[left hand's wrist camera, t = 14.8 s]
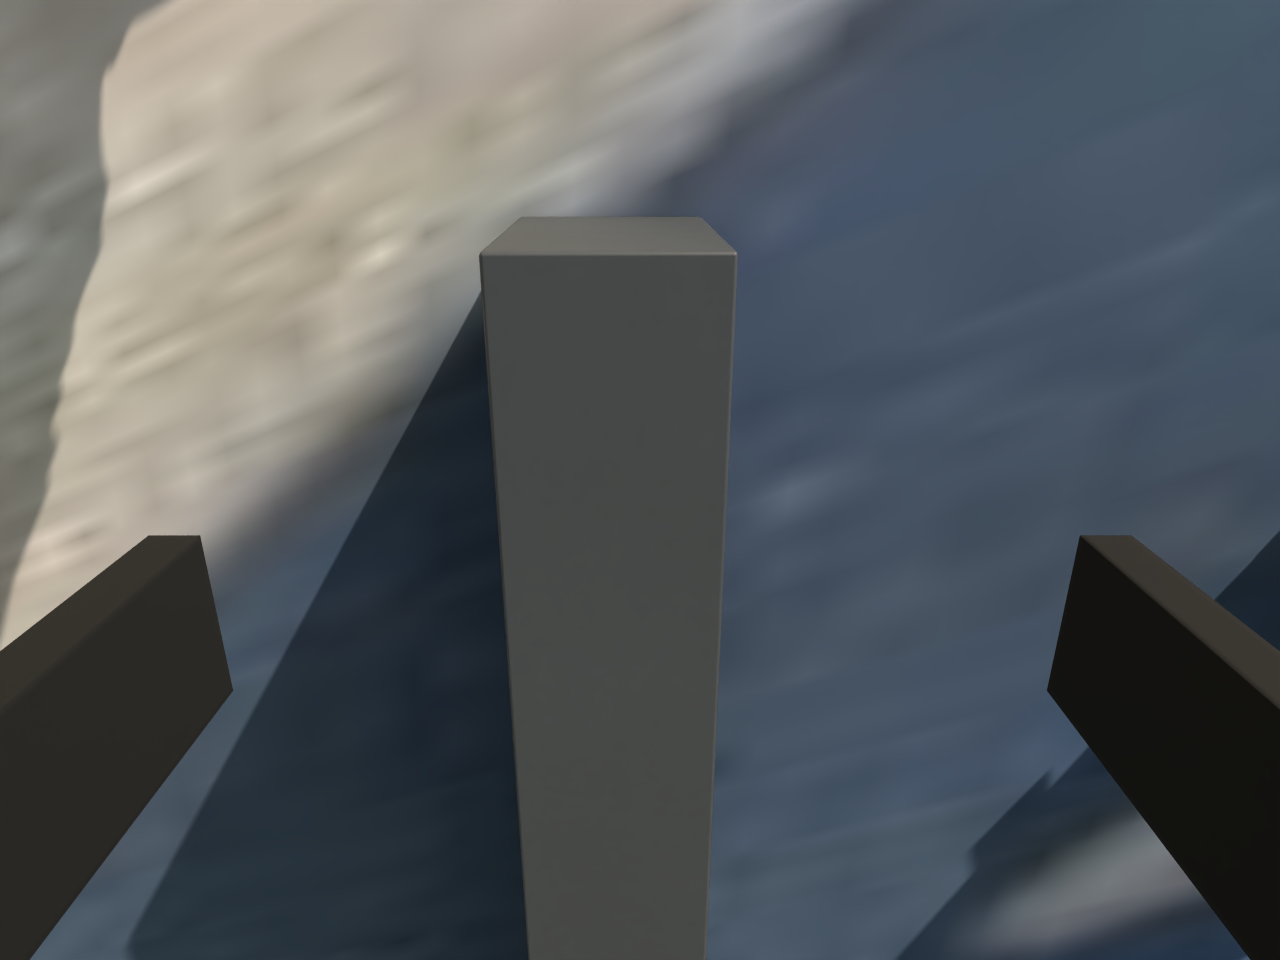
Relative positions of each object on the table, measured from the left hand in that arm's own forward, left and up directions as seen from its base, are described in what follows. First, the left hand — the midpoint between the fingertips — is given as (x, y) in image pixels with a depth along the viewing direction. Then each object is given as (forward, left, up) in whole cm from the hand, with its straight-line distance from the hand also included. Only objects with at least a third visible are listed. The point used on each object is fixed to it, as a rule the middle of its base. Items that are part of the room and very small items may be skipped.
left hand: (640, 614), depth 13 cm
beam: (+9, +25, -13) cm, 30 cm away
